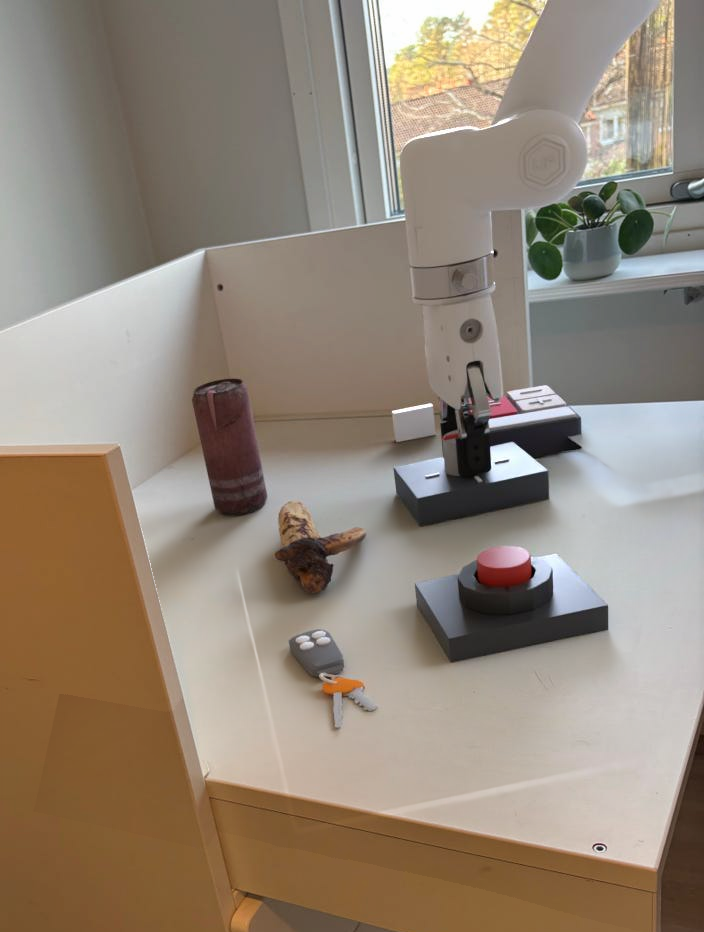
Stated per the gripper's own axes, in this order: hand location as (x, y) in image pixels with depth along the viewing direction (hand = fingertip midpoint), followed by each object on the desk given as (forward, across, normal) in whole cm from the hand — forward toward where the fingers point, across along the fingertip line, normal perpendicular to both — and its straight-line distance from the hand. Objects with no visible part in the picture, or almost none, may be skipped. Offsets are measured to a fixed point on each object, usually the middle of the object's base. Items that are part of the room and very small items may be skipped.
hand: (466, 463), depth 97 cm
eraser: (+4, +22, 0) cm, 22 cm away
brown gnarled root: (+4, -7, +17) cm, 19 cm away
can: (+4, +11, +23) cm, 26 cm away
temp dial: (+1, 0, 0) cm, 1 cm away
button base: (+4, -26, +5) cm, 27 cm away
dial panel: (+4, 0, 0) cm, 4 cm away
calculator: (+4, +14, -10) cm, 18 cm away
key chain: (+4, -30, +20) cm, 36 cm away
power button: (0, -26, +5) cm, 26 cm away
